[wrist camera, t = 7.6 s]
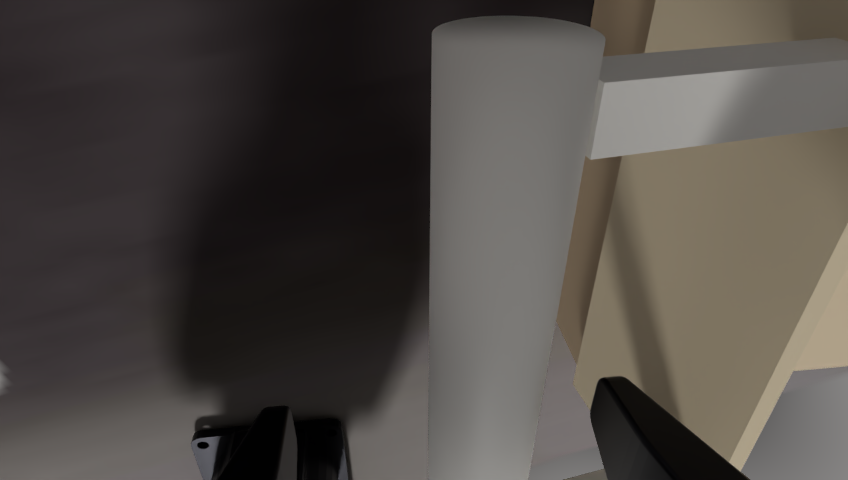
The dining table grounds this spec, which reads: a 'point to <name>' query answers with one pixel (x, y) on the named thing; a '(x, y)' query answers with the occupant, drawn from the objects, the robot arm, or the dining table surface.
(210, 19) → the dining table surface
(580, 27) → the flap
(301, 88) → the dining table surface
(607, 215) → the carton
